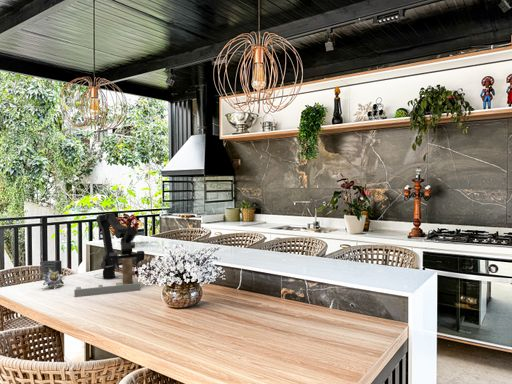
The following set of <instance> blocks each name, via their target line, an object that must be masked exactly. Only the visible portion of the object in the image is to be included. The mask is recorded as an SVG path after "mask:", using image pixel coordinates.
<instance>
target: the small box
mask: <svg viewBox="0 0 512 384" xmlns="http://www.w3.org/2000/svg"><path fill="white" fill-rule="evenodd" d="M39 263H40V280H43V279H42V277H41V275H42V276H43V274H45V275H46V274H47V273H48V272H49V270H51V271H53V272H56V271H58V273H59V275H61V274H62V275H63V270H62V269H63V268H62V266H63V265H62V260H44V261H41V262H39ZM43 278H44V277H43Z"/></svg>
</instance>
